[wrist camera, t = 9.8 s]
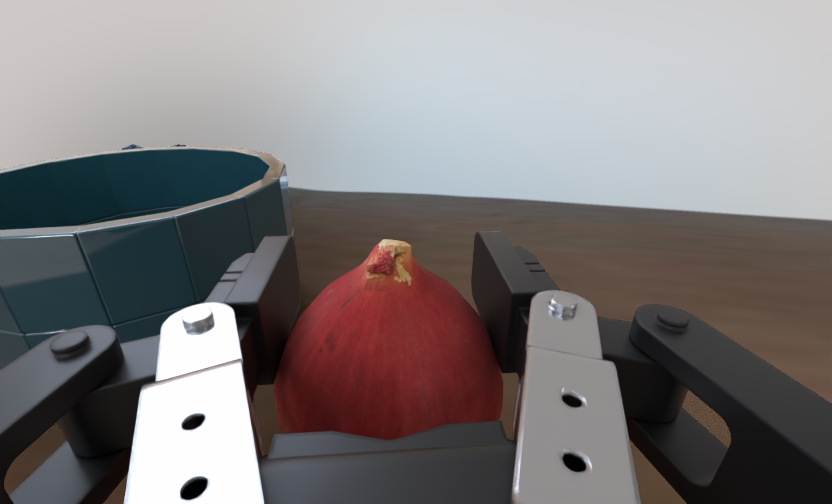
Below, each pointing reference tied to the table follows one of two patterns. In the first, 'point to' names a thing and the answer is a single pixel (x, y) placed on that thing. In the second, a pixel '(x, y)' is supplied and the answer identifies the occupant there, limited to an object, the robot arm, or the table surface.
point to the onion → (387, 355)
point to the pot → (128, 236)
